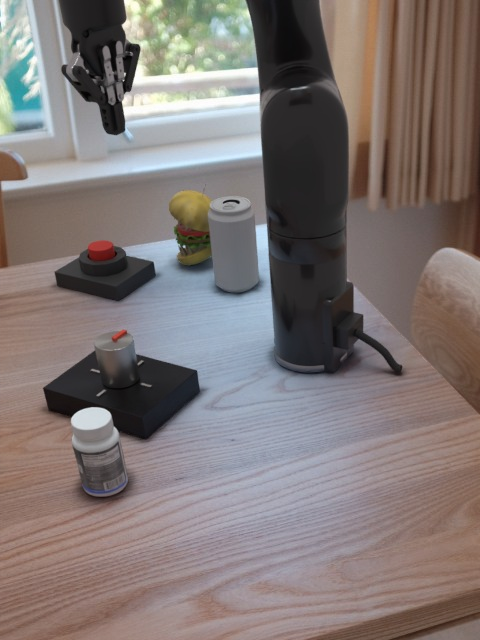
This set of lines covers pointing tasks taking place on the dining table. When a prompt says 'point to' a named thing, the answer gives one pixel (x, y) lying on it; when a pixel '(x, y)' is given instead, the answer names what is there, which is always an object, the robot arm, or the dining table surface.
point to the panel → (125, 394)
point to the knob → (117, 359)
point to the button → (101, 250)
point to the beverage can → (233, 243)
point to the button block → (106, 274)
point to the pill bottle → (98, 452)
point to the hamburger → (191, 226)
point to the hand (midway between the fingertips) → (115, 132)
